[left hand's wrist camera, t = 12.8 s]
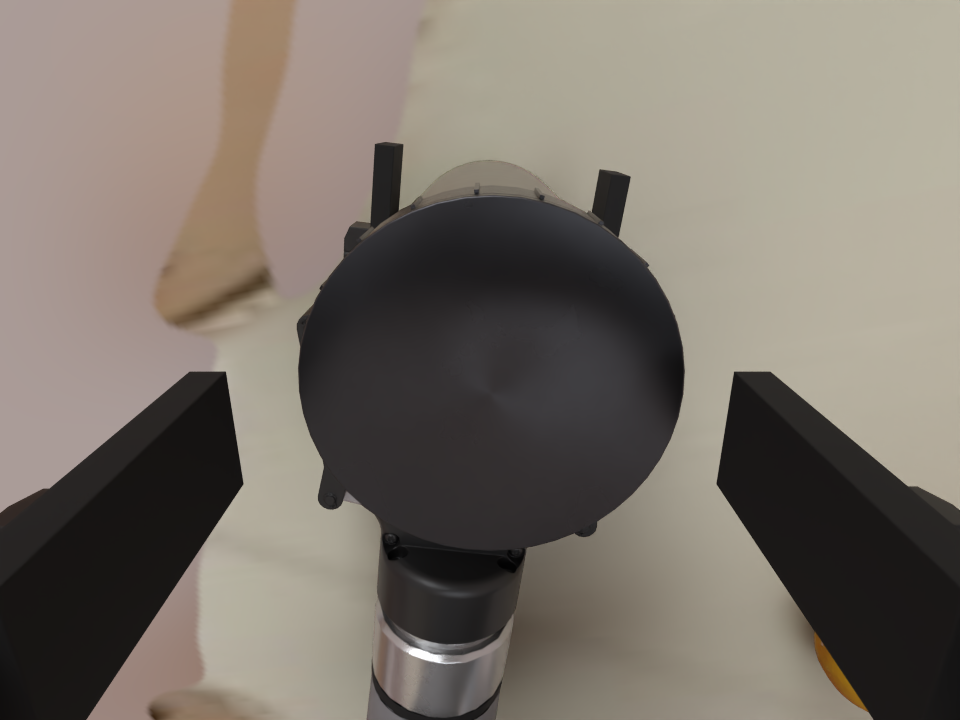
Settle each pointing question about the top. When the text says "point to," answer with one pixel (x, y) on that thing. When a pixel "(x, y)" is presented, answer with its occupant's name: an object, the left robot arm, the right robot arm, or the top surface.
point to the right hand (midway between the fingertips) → (502, 159)
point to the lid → (491, 369)
